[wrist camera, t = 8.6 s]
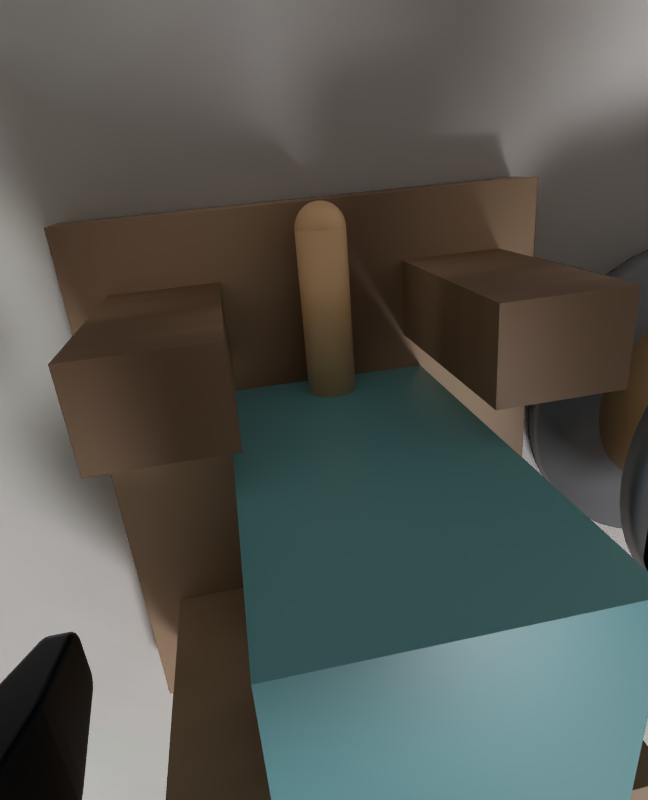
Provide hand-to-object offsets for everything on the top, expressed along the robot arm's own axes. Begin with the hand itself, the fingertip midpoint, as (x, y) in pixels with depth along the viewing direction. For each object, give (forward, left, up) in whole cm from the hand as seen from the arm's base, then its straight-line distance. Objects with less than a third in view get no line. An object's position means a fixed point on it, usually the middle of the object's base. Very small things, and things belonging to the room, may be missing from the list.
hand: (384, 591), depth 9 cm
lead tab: (0, -2, -4) cm, 4 cm away
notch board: (0, 0, -5) cm, 5 cm away
